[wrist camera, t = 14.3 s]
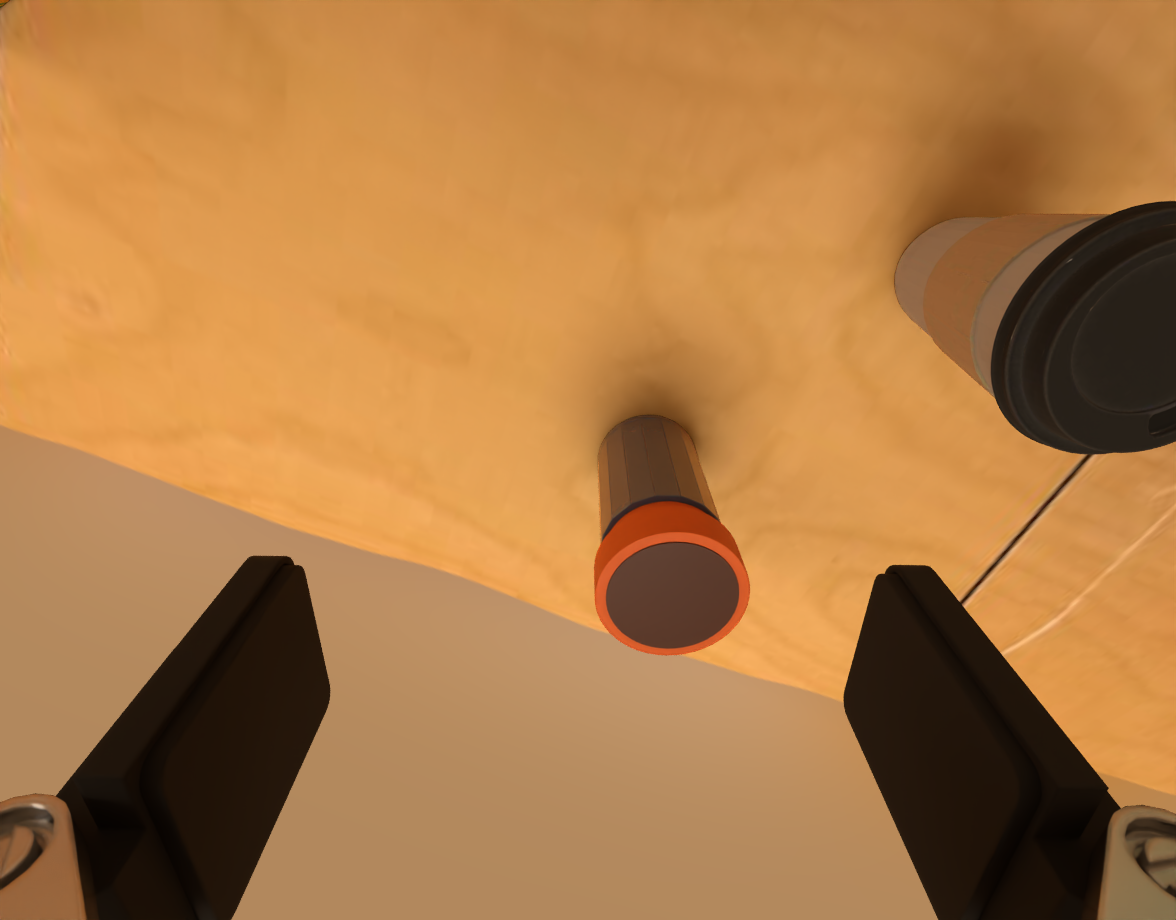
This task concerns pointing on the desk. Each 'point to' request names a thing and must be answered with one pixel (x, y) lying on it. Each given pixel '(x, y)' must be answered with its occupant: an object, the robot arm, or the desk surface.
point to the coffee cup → (1058, 320)
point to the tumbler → (648, 469)
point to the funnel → (669, 579)
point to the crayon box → (3, 2)
